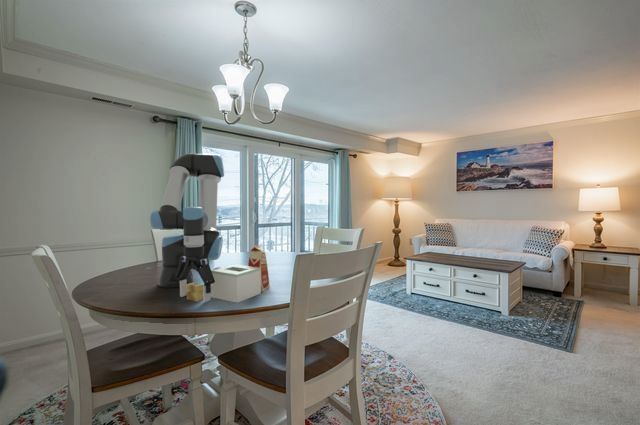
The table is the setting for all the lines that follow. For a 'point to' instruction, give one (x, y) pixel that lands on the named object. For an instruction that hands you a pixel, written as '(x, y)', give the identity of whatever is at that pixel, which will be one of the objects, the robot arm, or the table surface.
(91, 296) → the table surface
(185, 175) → the robot arm
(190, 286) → the cardboard box
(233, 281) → the coin box
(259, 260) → the milk carton
